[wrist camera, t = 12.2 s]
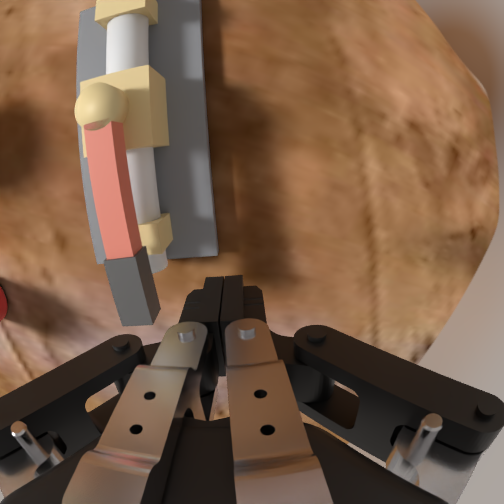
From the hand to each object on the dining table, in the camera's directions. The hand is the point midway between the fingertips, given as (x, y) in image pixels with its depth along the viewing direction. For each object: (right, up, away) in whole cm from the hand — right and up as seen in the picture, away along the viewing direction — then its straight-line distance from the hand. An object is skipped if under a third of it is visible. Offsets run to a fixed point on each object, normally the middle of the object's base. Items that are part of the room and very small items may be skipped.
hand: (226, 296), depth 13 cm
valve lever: (-8, +5, +7) cm, 12 cm away
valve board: (-9, +14, +12) cm, 20 cm away
